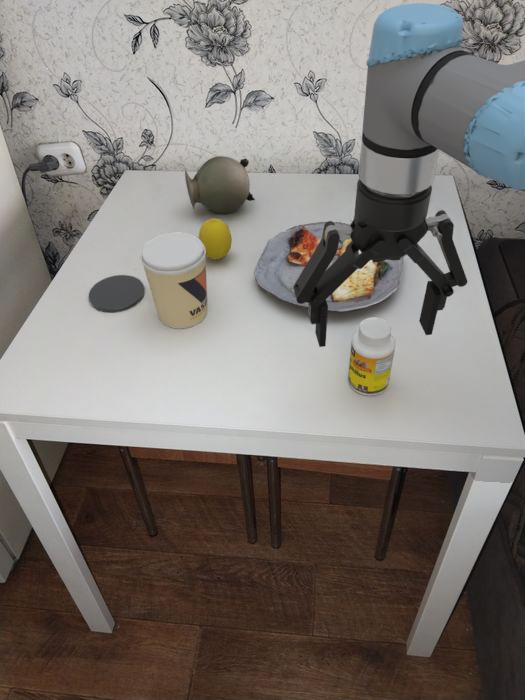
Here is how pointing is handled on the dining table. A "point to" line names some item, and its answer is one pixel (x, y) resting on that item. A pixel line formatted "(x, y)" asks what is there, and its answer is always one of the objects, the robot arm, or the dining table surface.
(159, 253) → the coffee cup
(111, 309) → the slate coaster
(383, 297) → the food plate
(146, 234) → the dining table surface
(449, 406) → the dining table surface
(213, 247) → the lemon
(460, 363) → the dining table surface
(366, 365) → the supplement bottle
